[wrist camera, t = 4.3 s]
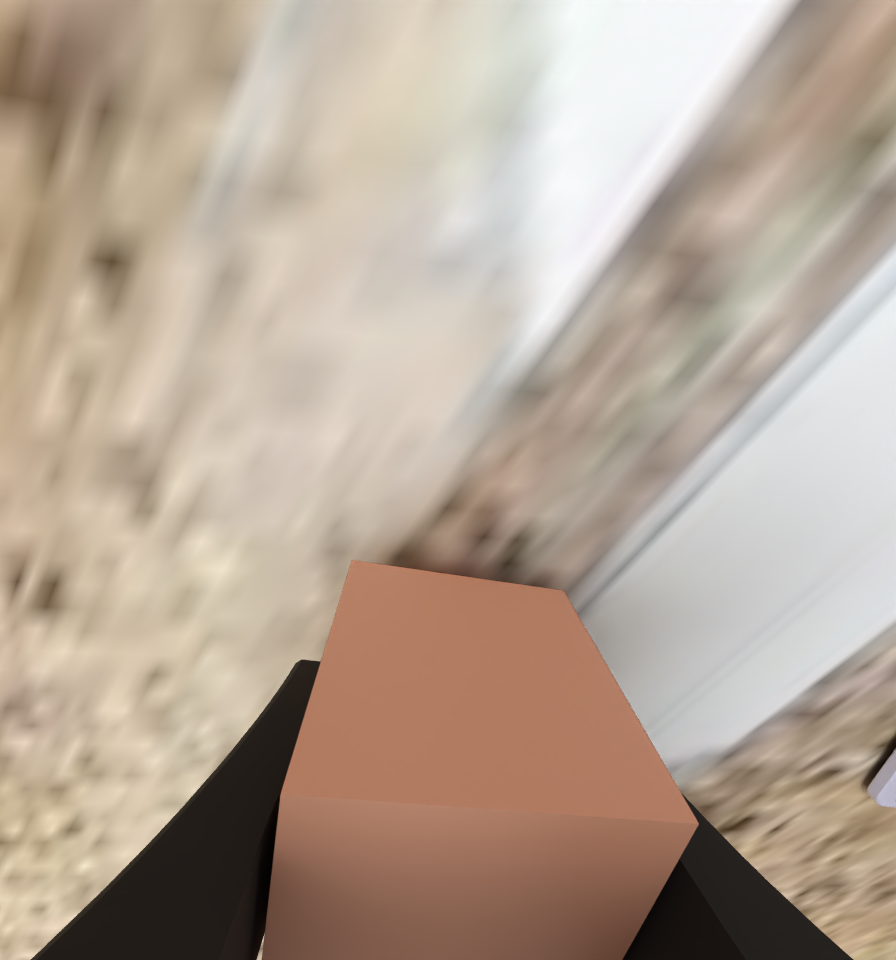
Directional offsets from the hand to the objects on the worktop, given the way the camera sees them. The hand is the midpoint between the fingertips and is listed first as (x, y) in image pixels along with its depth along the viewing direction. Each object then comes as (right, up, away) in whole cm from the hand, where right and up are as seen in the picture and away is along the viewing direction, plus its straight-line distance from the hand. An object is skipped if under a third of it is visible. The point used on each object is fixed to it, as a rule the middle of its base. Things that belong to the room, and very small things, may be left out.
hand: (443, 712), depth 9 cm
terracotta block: (0, 0, +1) cm, 1 cm away
